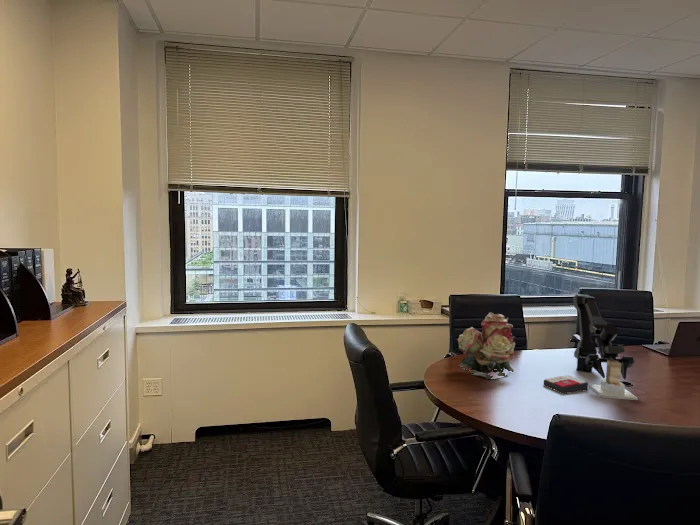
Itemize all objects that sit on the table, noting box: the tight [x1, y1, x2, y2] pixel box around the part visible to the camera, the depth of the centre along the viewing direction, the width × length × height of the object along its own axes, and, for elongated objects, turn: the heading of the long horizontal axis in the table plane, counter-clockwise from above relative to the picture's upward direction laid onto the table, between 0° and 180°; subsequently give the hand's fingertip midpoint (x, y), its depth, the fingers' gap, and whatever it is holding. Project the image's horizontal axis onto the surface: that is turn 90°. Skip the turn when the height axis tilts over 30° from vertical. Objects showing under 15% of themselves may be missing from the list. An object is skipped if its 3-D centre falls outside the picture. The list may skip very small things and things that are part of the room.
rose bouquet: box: [457, 311, 516, 380], centre depth 216 cm, size 26×29×30 cm
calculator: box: [543, 374, 589, 394], centre depth 196 cm, size 11×4×15 cm
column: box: [605, 360, 622, 384], centre depth 190 cm, size 4×4×13 cm
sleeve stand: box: [588, 378, 639, 401], centre depth 190 cm, size 14×14×6 cm
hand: (614, 378), depth 189 cm, fingers open, 8 cm apart
